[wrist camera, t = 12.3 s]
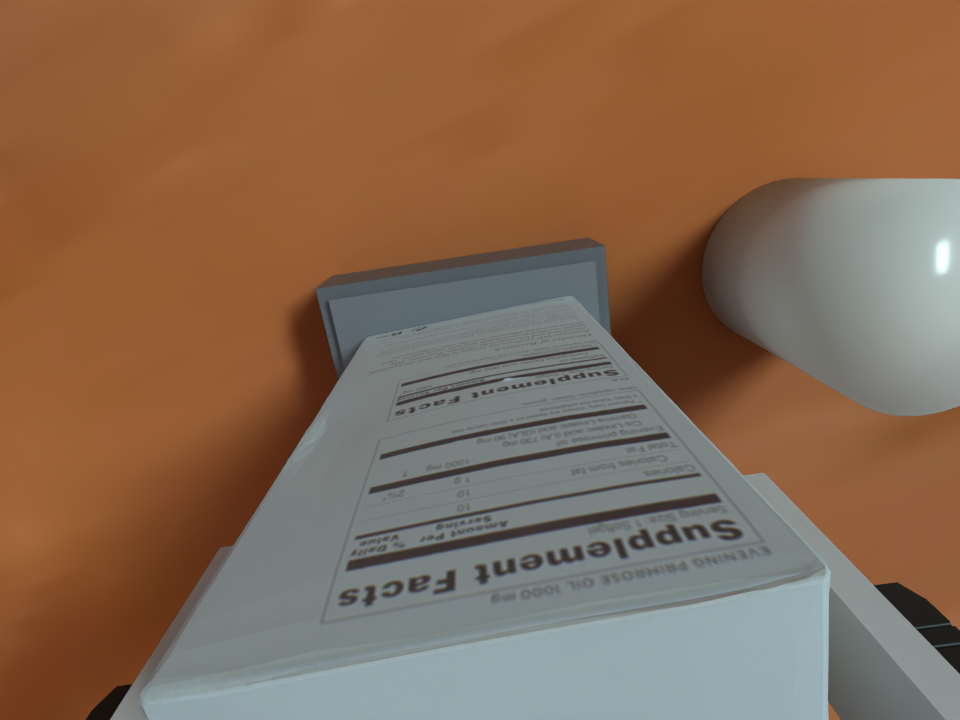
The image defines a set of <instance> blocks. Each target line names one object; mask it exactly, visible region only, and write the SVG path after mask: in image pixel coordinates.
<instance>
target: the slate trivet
mask: <svg viewBox="0 0 960 720" xmlns="http://www.w3.org/2000/svg"><path fill="white" fill-rule="evenodd" d="M316 293H317V297H318V301H319V305H320V309H321V313H322V318H323V322H324V326H325V330H326V334H327V338H328V342H329V346H330V350H331V354H332V358H333V362H334V366H335V370H336V374H337V378H338V380H339V378H340V377H341V375H342V374H343V372H344V371H345V369H346V368H347V366H348V365H349V363H350V361H351V360H352V358H353V357H354V355H355V353H356V352H357V350H358V348H359V347H360V345H361V344H362V342H363V341H364V339H366V338H367V337H370V336H375V335H380V334H384V333H389V332H394V331H399V330H404V329H408V328H413V327H418V326H422V325H427V324H432V323H437V322H442V321H447V320H451V319H456V318H461V317H466V316H471V315H476V314H480V313H485V312H490V311H495V310H500V309H504V308H509V307H514V306H519V305H524V304H529V303H533V302H538V301H543V300H548V299H554V298H559V297H565V296H573V297H574V298H575V299H576V300H577V301H578V302H579V303H580V304H581V305H582V306H583V307H584V308H585V309H586V310H587V312H588V313H589V314H590V315H591V316H592V317H593V318H594V319H595V320H596V321H597V322H598V323H599V324H600V325H601V326H602V327H603V328H604V329H605V330H606V331H607V332H608V333H609V335H610V336H611V330H610V315H609V300H608V285H607V270H606V255H605V246H604V245H602V244H600V243H598V242H596V241H594V240H592V239H590V238H584V239H577V240H570V241H564V242H557V243H550V244H543V245H537V246H530V247H523V248H517V249H510V250H503V251H496V252H490V253H483V254H476V255H470V256H463V257H456V258H449V259H443V260H436V261H429V262H423V263H416V264H409V265H403V266H396V267H389V268H382V269H376V270H369V271H362V272H356V273H349V274H342V275H335V276H332V277H330V278H329V279H328V280H326V281H325V282H324V283H322V284H321V285H320V286H318V287H317V288H316Z"/></svg>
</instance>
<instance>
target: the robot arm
mask: <svg viewBox="0 0 960 720" xmlns="http://www.w3.org/2000/svg"><path fill="white" fill-rule="evenodd" d="M744 477H745V478H746V479H747V480H748V481H749V482H750V483H751V484H752V485H753V486H754V487H755V488H756V489H757V490H758V491H759V493H760V494H761V495H762V496H763V497H764V498H765V499H766V500H767V501H768V502H769V503H770V504H771V505H772V507H773V508H774V509H775V510H776V511H777V512H778V513H779V514H780V515H781V516H782V517H783V518H784V519H785V520H786V521H787V522H788V523H789V524H790V525H791V526H792V527H793V528H794V529H795V530H796V531H797V532H798V533H799V534H800V535H801V537H802V538H803V539H804V540H805V541H806V542H807V543H808V544H809V546H810V547H811V548H812V549H813V550H814V551H815V552H816V553H817V554H818V555H819V556H821V557H822V558H823V560H824V561H825V563H826V565H827V567H828V568H829V570H830V572H831V575H830V589H829V655H828V701H829V703H830V704H831V706H832V707H833V709H834V710H835V712H836V713H837V715H838V716H839V718H840V719H841V720H960V631H959V630H958V629H957V628H956V627H955V626H952V625H951V624H950V621H949V620H948V619H947V618H946V617H945V616H944V615H942V614H941V613H940V612H939V611H938V610H937V609H936V608H935V607H934V606H933V605H932V604H931V603H930V602H929V601H928V600H926V599H925V598H923V597H921V596H920V595H918V594H916V593H914V592H913V591H911V590H909V589H908V588H906V587H904V586H902V585H901V584H899V583H897V582H896V583H889V584H881V585H873V584H872V583H871V582H870V581H869V580H868V579H867V578H866V577H865V576H864V575H863V574H862V573H861V572H860V571H859V570H858V569H857V568H856V567H855V566H854V565H853V564H852V563H851V562H850V561H849V560H848V559H847V558H846V557H845V556H844V555H843V554H842V552H841V551H840V550H839V549H838V548H837V547H836V546H835V545H834V544H833V543H832V542H831V541H830V540H829V539H828V538H827V537H826V536H825V535H824V534H823V533H822V532H821V531H820V530H819V529H818V528H817V527H816V526H815V525H814V524H813V523H812V522H811V521H810V520H809V519H808V518H807V516H806V515H805V514H804V513H803V512H802V511H801V510H800V509H799V508H798V507H797V506H796V505H795V504H794V503H793V502H792V501H791V500H790V499H789V498H788V497H787V496H786V495H785V494H784V493H783V492H782V491H781V490H780V489H779V488H778V487H777V486H776V485H775V484H774V483H773V482H772V480H771V479H770V478H769V477H768V476H767V475H766V474H765V473H759V474H752V475H745V476H744ZM232 547H233V546H226V547H220V549H219V550H218V552H217V553H216V555H215V556H214V558H213V559H212V561H211V563H210V564H209V566H208V567H207V569H206V570H205V572H204V574H203V575H202V577H201V578H200V580H199V581H198V583H197V584H196V586H195V588H194V589H193V591H192V592H191V594H190V595H189V597H188V599H187V600H186V602H185V603H184V605H183V606H182V608H181V609H180V611H179V613H178V614H177V616H176V617H175V619H174V620H173V622H172V624H171V625H170V627H169V628H168V630H167V631H166V633H165V634H164V636H163V638H162V639H161V641H160V642H159V644H158V645H157V647H156V649H155V650H154V652H153V653H152V655H151V656H150V658H149V659H148V661H147V663H146V664H145V666H144V667H143V669H142V670H141V672H140V674H139V675H138V677H137V678H136V680H135V681H134V683H133V684H131V685H123V686H117V687H116V688H115V689H114V690H113V691H112V692H111V693H110V694H108V695H107V696H106V697H105V698H104V699H103V700H102V701H101V702H100V703H99V704H98V705H97V706H96V707H95V708H94V709H93V710H92V711H91V713H90V714H89V716H88V717H87V719H86V720H147V718H146V716H145V715H144V713H143V711H142V710H141V708H140V706H139V705H138V699H139V695H140V691H141V689H142V688H143V686H144V685H145V683H146V681H147V680H148V678H149V677H150V675H151V674H152V672H153V671H154V669H155V668H156V666H157V665H158V663H159V661H160V660H161V658H162V657H163V655H164V653H165V652H166V650H167V649H168V647H169V645H170V644H171V642H172V641H173V639H174V637H175V636H176V634H177V633H178V631H179V629H180V628H181V626H182V625H183V623H184V621H185V620H186V618H187V617H188V615H189V613H190V612H191V610H192V609H193V607H194V606H195V604H196V602H197V601H198V599H199V598H200V596H201V595H202V593H203V592H204V590H205V589H206V587H207V585H208V584H209V582H210V581H211V579H212V578H213V576H214V575H215V573H216V572H217V570H218V568H219V567H220V565H221V564H222V562H223V561H224V559H225V558H226V556H227V554H228V553H229V551H230V550H231V548H232Z"/></svg>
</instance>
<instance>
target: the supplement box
mask: <svg viewBox="0 0 960 720" xmlns="http://www.w3.org/2000/svg"><path fill="white" fill-rule="evenodd" d="M830 575H831V572H830V570H829V568H828V567H827V565H826V563H825V561H824V560H823V558H822V557H821V556H819V555H818V554H817V553H816V552H815V551H814V550H813V549H812V548H811V547H810V546H809V544H808V543H807V542H806V541H805V540H804V539H803V538H802V537H801V535H800V534H799V533H798V532H797V531H796V530H795V529H794V528H793V527H792V526H791V525H790V524H789V523H788V522H787V521H786V520H785V519H784V518H783V517H782V516H781V515H780V514H779V513H778V512H777V511H776V510H775V509H774V508H773V507H772V505H771V504H770V503H769V502H768V501H767V500H766V499H765V498H764V497H763V496H762V495H761V494H760V493H759V491H758V490H757V489H756V488H755V487H754V486H753V485H752V484H751V483H750V482H749V481H748V480H747V479H746V478H745V477H744V476H743V475H742V474H741V473H740V472H739V471H738V470H737V469H736V467H735V466H734V465H733V464H732V463H731V462H730V461H729V460H728V459H727V458H726V457H725V456H724V455H723V454H722V453H721V452H720V451H719V450H718V449H717V447H716V446H715V445H714V444H713V443H712V442H711V441H710V440H709V439H708V438H707V437H706V436H705V435H704V434H703V433H702V432H701V431H700V430H699V429H698V428H697V427H696V426H695V425H694V423H693V422H692V421H691V420H690V419H689V418H688V417H687V416H686V415H685V414H684V413H683V412H682V411H681V410H680V408H679V407H678V406H677V405H676V404H675V403H674V402H673V401H672V400H671V399H670V398H669V397H668V396H667V395H666V394H665V393H664V392H663V391H662V390H661V389H660V388H659V386H658V385H657V384H656V383H655V382H654V381H653V380H652V379H651V378H650V377H649V376H648V375H647V374H646V373H645V372H644V370H643V369H642V368H641V367H640V366H639V365H638V364H637V363H636V362H635V361H634V360H633V359H632V358H631V357H630V356H629V355H628V354H627V353H626V352H625V350H624V349H623V348H622V347H621V346H620V345H619V344H618V343H617V342H616V341H615V340H614V339H613V338H612V337H611V336H610V335H609V333H608V332H607V331H606V330H605V329H604V328H603V327H602V326H601V325H600V324H599V323H598V322H597V321H596V320H595V319H594V318H593V317H592V316H591V315H590V314H589V313H588V312H587V310H586V309H585V308H584V307H583V306H582V305H581V304H580V303H579V302H578V301H577V300H576V299H575V298H574V297H573V296H565V297H559V298H554V299H548V300H543V301H538V302H533V303H529V304H524V305H519V306H514V307H509V308H504V309H500V310H495V311H490V312H485V313H480V314H476V315H471V316H466V317H461V318H456V319H451V320H447V321H442V322H437V323H432V324H427V325H422V326H418V327H413V328H408V329H404V330H399V331H394V332H389V333H384V334H380V335H375V336H370V337H367V338H366V339H364V341H363V342H362V344H361V345H360V347H359V348H358V350H357V352H356V353H355V355H354V357H353V358H352V360H351V361H350V363H349V365H348V366H347V368H346V369H345V371H344V372H343V374H342V375H341V377H340V378H339V380H338V382H337V383H336V385H335V387H334V388H333V390H332V391H331V393H330V394H329V396H328V397H327V399H326V400H325V402H324V404H323V405H322V407H321V409H320V411H319V412H318V414H317V416H316V417H315V419H314V420H313V422H312V423H311V425H310V426H309V428H308V429H307V430H306V432H305V434H304V435H303V437H302V438H301V440H300V442H299V443H298V445H297V447H296V448H295V450H294V451H293V453H292V454H291V456H290V457H289V459H288V461H287V462H286V464H285V465H284V467H283V469H282V470H281V472H280V473H279V475H278V477H277V478H276V480H275V481H274V483H273V485H272V486H271V488H270V489H269V491H268V492H267V494H266V496H265V497H264V499H263V500H262V502H261V503H260V505H259V506H258V508H257V510H256V511H255V513H254V514H253V516H252V517H251V519H250V520H249V522H248V524H247V525H246V527H245V528H244V530H243V531H242V533H241V534H240V536H239V537H238V539H237V541H236V542H235V544H234V545H233V547H232V548H231V550H230V551H229V553H228V554H227V556H226V558H225V559H224V561H223V562H222V564H221V565H220V567H219V568H218V570H217V572H216V573H215V575H214V576H213V578H212V579H211V581H210V582H209V584H208V585H207V587H206V589H205V590H204V592H203V593H202V595H201V596H200V598H199V599H198V601H197V602H196V604H195V606H194V607H193V609H192V610H191V612H190V613H189V615H188V617H187V618H186V620H185V621H184V623H183V625H182V626H181V628H180V629H179V631H178V633H177V634H176V636H175V637H174V639H173V641H172V642H171V644H170V645H169V647H168V649H167V650H166V652H165V653H164V655H163V657H162V658H161V660H160V661H159V663H158V665H157V666H156V668H155V669H154V671H153V672H152V674H151V675H150V677H149V678H148V680H147V681H146V683H145V685H144V686H143V688H142V689H141V691H140V695H139V699H138V705H139V706H140V708H141V710H142V711H143V713H144V715H145V716H146V718H147V720H828V655H829V589H830Z"/></svg>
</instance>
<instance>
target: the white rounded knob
mask: <svg viewBox="0 0 960 720" xmlns="http://www.w3.org/2000/svg"><path fill="white" fill-rule="evenodd" d="M701 276H702V286H703V291H704V295H705V298H706V300H707V303H708V305H709V307H710V309H711V310H712V312H713V313H714V315H715V316H716V317H717V319H718V320H719V321H721V322H722V323H723V324H724V325H725V326H726V327H728V328H729V329H731V330H732V331H734V332H735V333H737V334H739V335H741V336H742V337H744V338H746V339H748V340H749V341H751V342H753V343H755V344H756V345H758V346H760V347H761V348H763V349H765V350H767V351H768V352H770V353H772V354H774V355H775V356H777V357H779V358H781V359H782V360H784V361H786V362H787V363H789V364H791V365H793V366H794V367H796V368H798V369H800V370H801V371H803V372H805V373H807V374H808V375H810V376H812V377H814V378H815V379H817V380H819V381H820V382H822V383H824V384H826V385H827V386H829V387H831V388H833V389H834V390H836V391H838V392H840V393H841V394H843V395H845V396H847V397H848V398H850V399H852V400H853V401H855V402H857V403H859V404H861V405H863V406H865V407H867V408H869V409H871V410H874V411H877V412H880V413H884V414H890V415H896V416H920V415H928V414H933V413H938V412H942V411H945V410H949V409H952V408H955V407H957V406H960V179H875V178H790V179H782V180H777V181H773V182H770V183H768V184H765V185H762V186H760V187H758V188H756V189H754V190H752V191H751V192H749V193H748V194H746V195H745V196H743V197H742V198H741V199H739V200H738V201H737V202H736V203H735V204H733V205H732V206H731V207H730V208H729V210H728V211H727V212H726V213H725V214H724V215H723V216H722V218H721V219H720V220H719V222H718V223H717V225H716V227H715V228H714V230H713V232H712V233H711V236H710V238H709V240H708V242H707V245H706V248H705V252H704V256H703V261H702V272H701Z"/></svg>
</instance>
